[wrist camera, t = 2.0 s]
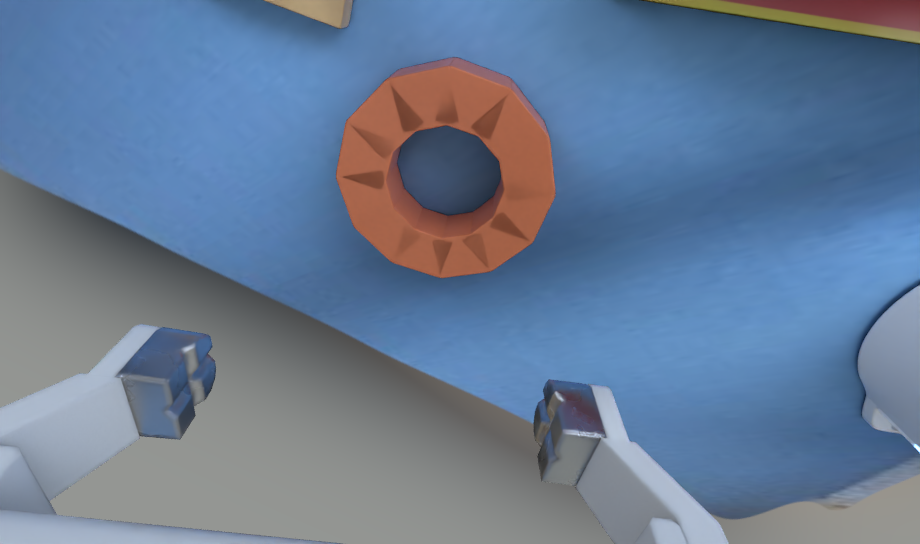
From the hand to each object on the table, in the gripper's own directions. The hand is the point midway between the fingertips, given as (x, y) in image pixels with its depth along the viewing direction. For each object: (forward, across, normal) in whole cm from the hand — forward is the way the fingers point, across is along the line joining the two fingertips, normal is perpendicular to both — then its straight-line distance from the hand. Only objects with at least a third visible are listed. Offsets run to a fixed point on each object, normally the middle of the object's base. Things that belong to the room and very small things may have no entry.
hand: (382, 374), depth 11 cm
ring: (+19, +1, -1) cm, 19 cm away
